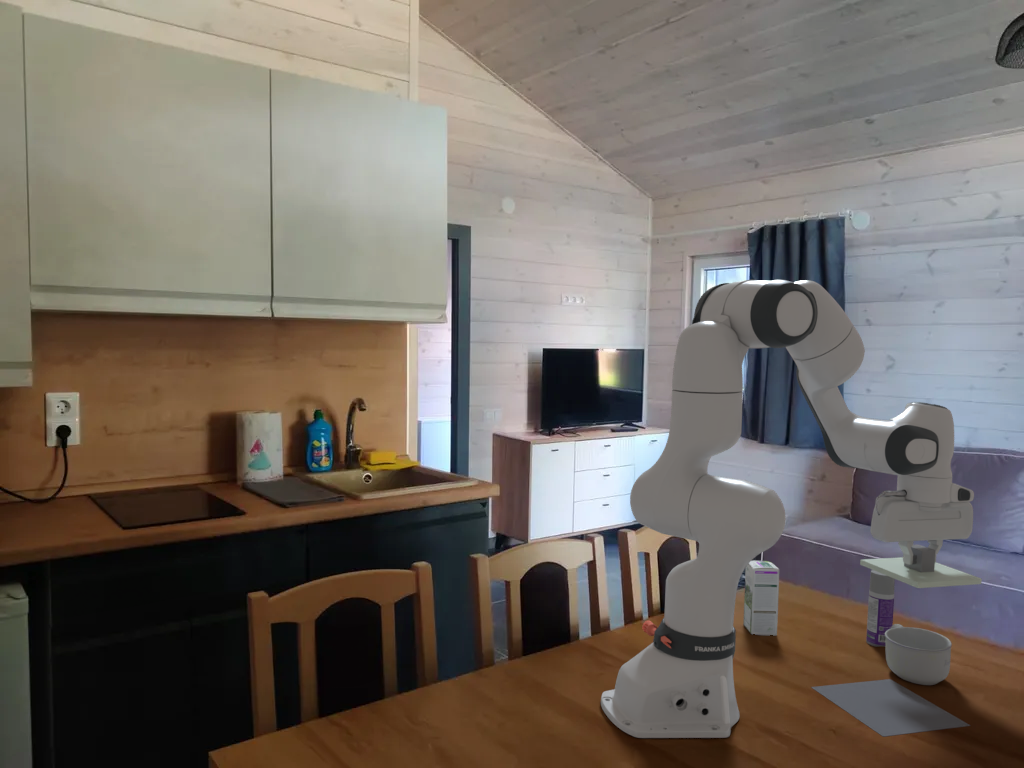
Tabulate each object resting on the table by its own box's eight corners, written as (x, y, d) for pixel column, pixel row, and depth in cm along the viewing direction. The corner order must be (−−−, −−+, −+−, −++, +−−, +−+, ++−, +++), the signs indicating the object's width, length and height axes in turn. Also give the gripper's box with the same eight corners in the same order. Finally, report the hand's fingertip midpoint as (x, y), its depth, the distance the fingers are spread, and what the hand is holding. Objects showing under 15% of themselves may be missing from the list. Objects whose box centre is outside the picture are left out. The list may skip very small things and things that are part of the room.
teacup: (958, 695, 129) (961, 651, 129) (892, 687, 131) (895, 644, 131) (930, 663, 143) (932, 623, 143) (870, 656, 145) (873, 617, 145)
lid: (917, 588, 128) (919, 560, 127) (860, 564, 141) (861, 539, 141) (981, 584, 131) (983, 556, 131) (919, 561, 145) (920, 536, 145)
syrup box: (777, 636, 154) (781, 568, 153) (749, 635, 154) (753, 567, 154) (768, 626, 160) (772, 560, 159) (741, 624, 160) (745, 559, 159)
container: (892, 642, 153) (896, 572, 152) (890, 650, 149) (894, 577, 148) (867, 637, 155) (871, 567, 155) (864, 644, 151) (868, 573, 151)
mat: (883, 739, 113) (883, 736, 113) (810, 689, 129) (810, 687, 129) (970, 727, 118) (970, 725, 118) (889, 681, 134) (890, 679, 134)
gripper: (890, 494, 130) (886, 570, 130) (981, 492, 135) (977, 565, 136) (864, 487, 136) (860, 560, 136) (952, 485, 141) (948, 556, 142)
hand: (919, 563), depth 136 cm, fingers closed on lid, 3 cm apart
